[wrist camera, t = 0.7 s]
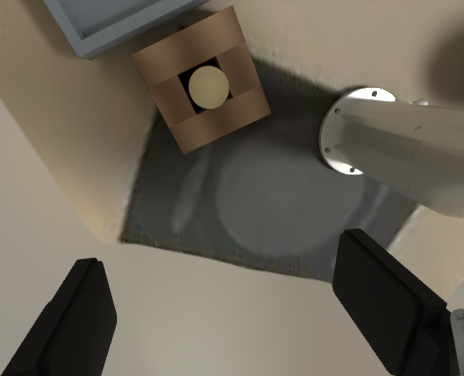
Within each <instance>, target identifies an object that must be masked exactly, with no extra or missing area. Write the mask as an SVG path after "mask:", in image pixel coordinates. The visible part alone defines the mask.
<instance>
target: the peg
mask: <svg viewBox="0 0 464 376" xmlns="http://www.w3.org/2000/svg"><path fill="white" fill-rule="evenodd" d="M189 92H190V95H191V97H192V99H193V101H194V102H195V103H196V104H197V105H199V106H200V107H202V108H206V109H213V108H217V107H219V106H220V105H222V104H223V103H224V101H225V100H226V98H227V96H228V93H229V83H228V80H227V78H226V76H225V74H224V73H223V72H222V71H221V70H219V69H218V68H216V67H213V66H204V67H201V68H199V69H197V70H196V71H195V72H194V73H193V75H192V76H191V78H190V82H189Z"/></svg>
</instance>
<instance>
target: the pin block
mask: <svg viewBox="0 0 464 376" xmlns="http://www.w3.org/2000/svg"><path fill="white" fill-rule="evenodd" d="M130 57H131V58H132V60H133V62H134V64H135V66H136V68H137V70H138V71H139V73H140V75H141V77H142V79H143V81H144V82H145V84H146V86H147V88H148V90H149V92H150V94H151V95H152V97H153V99H154V101H155V103H156V105H157V107H158V108H159V110H160V112H161V114H162V116H163V118H164V120H165V121H166V123H167V125H168V127H169V129H170V131H171V133H172V134H173V136H174V138H175V140H176V142H177V144H178V146H179V147H180V149H181V151H182V153H183V155H184V154H186V153H188V152H190V151H193V150H195V149H197V148H199V147H201V146H203V145H205V144H207V143H209V142H212V141H214V140H216V139H218V138H220V137H222V136H224V135H226V134H229V133H231V132H233V131H235V130H237V129H239V128H241V127H243V126H246V125H248V124H250V123H252V122H254V121H256V120H258V119H260V118H263V117H265V116H267V115H269V114H271V111H270V108H269V105H268V102H267V100H266V97H265V94H264V91H263V89H262V86H261V83H260V80H259V77H258V75H257V72H256V69H255V66H254V64H253V61H252V58H251V55H250V52H249V50H248V47H247V44H246V41H245V38H244V36H243V33H242V30H241V27H240V25H239V22H238V19H237V16H236V13H235V11H234V8H233V5H232V6H230V7H228V8H226V9H224V10H222V11H220V12H218V13H216V14H214V15H212V16H210V17H208V18H206V19H203V20H201V21H199V22H197V23H195V24H193V25H191V26H189V27H187V28H185V29H183V30H181V31H179V32H177V33H175V34H173V35H171V36H169V37H167V38H165V39H163V40H161V41H159V42H157V43H155V44H153V45H151V46H149V47H147V48H145V49H143V50H141V51H138V52H136V53H134V54H132V55H130ZM212 59H214V61H215V64H216V66H217V68H218V69H219V70H221V71H222V72H223V73H224V74H225V76H226V78H227V80H228V83H229V93H228V95H229V96H228V97H227V98H226V100H225V101H224V103H223V104H222V105H220V106H219V107H217V108H213V109H206V108H203V109H201V110H199V111H196V110H195V108H194V106H193V104H192V102H191V100H190V98H189V96H188V94H187V92H186V89H185V87H184V85H183V83H182V81H181V79H180V77H179V75H181V74H183V73H185V72H187V71H189V70H191V69H193V68H195V67H197V66H199V65H201V64H204V63H206V62H208V61H210V60H212Z"/></svg>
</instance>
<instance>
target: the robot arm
mask: <svg viewBox="0 0 464 376" xmlns="http://www.w3.org/2000/svg"><path fill="white" fill-rule="evenodd" d="M427 104H428V102H427V100H426V99H425V98H420V99H418V100H416V101H414V102H412V103H406V102H398V101H397V99H396V98H395V97H394V96H393V95H392V94H391V93H389V92H387V91H386V90H383V89H380V88H374V87H363V88H358V89H355V90H352V91H350V92H348V93H346V94H344V95H343V96H342V97H340V98H339V99H338V100H337V101H336V102H335V103H334V104H333V105H332V106H331V107H330V108H329V110H328V111H327V113H326V114H325V116H324V118H323V120H322V123H321V126H320V130H319V137H318V138H319V148H320V152H321V155H322V157H323V159H324V160H325V161H326V163H327V164H328V165H329V166H331V167H332V168H333V169H335V170H337V171H338V172H341V173H344V174H348V175H357V174H362V173H364V174H366V175H368V176H370V177H371V178H373V179H375V180H377V181H379V182H381V183H382V184H384V185H386V186H388V187H390V188H392V189H393V190H395V191H397V192H399V193H401V194H403V195H405V196H406V197H408V198H410V199H412V200H414V201H416V202H417V203H419V204H421V205H423V206H425V207H427V208H429V209H431V210H433V211H435V212H437V213H440V214H443V215H446V216H450V217H457V218H464V109H459V108H450V107H440V106H430V105H427ZM335 109H336V111H335ZM325 149H326V150H325ZM332 287H333V291H334V293H335V295H336V296H337V298H338V299H339V301H340V302H341V304H342V305H343V306H344V308H345V309H346V311H347V312H348V314H349V315H350V317H351V318H352V320H353V321H354V323H355V324H356V326H357V327H358V328H359V330H360V331H361V333H362V334H363V336H364V337H365V339H366V340H367V342H368V343H369V344H370V346H371V348H372V349H373V351H374V352H375V353H376V355H377V356H378V358H379V359H380V361H381V362H382V364H383V365H384V367H385V368H386V370H387V371H388V372H389V373H390V374H391V375H395V376H464V309H456V310H454V311H453V312H452V313H451V312H450V311H448V310H447V309H446V306H447V303H446V302H445V301H444V300H443V299H441V298H440V297H439V296H438V295H437V294H436V293H435V292H433V291H432V290H431V289H430V288H429V287H428V286H426V285H425V284H424V283H423V282H422V281H421V280H419V279H418V278H417V277H416V276H415V275H414V274H413V273H411V272H410V271H409V270H408V269H407V268H406V267H404V266H403V265H402V264H401V263H400V262H399V261H397V260H396V259H395V258H394V257H393V256H392V255H391V254H389V253H388V252H387V251H386V250H385V249H384V248H382V247H381V246H380V245H379V244H378V243H377V242H375V241H374V240H373V239H372V238H371V237H370V236H369V235H367V234H366V233H365V232H364V231H363V230H361V229H359V228H358V229H348V230H345V231H344V232H343V234H341V235H340V238H339V245H338V251H337V258H336V264H335V271H334V277H333V284H332ZM116 324H117V314H116V310H115V306H114V303H113V299H112V295H111V292H110V288H109V284H108V280H107V277H106V273H105V269H104V266H103V263H102V261H98V260H97V259H96V258H87V259H79V260H77V261H76V262H75V264H74V266H73V267H72V269H71V270H70V272H69V273H68V275H67V277H66V278H65V280H64V281H63V283H62V285H61V286H60V288H59V289H58V291H57V292H56V294H55V296H54V297H53V299H52V301H50V302H49V303H48V304H47V305H46V306H45V308H44V309H43V311H42V312H41V314H40V315H39V317H38V318H37V320H36V322H35V323H34V325H33V326H32V328H31V329H30V331H29V333H28V334H27V336H26V337H25V339H24V340H23V342H22V343H21V345H20V346H19V348H18V350H17V351H16V353H15V354H14V356H13V357H12V359H11V361H10V362H9V364H8V365H7V367H6V368H5V370H4V371H3V373H2V375H1V376H101V374H102V371H103V367H104V364H105V361H106V357H107V354H108V351H109V347H110V344H111V341H112V337H113V334H114V331H115V327H116Z"/></svg>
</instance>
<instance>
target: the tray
mask: <svg viewBox="0 0 464 376" xmlns="http://www.w3.org/2000/svg"><path fill="white" fill-rule="evenodd" d="M43 1H44V3H45V4H46V6H47V7H48V9H49V11H50V12H51V14H52V16H53V17H54V19H55V20H56V22H57V24H58V25H59V27H60V28H61V30H62V32H63V33H64V35H65V37H66V38H67V40H68V41H69V43H70V45H71V46H72V48H73V50H74V51H75V53H76V54H77V56H78V57H79V58H84V59H89V60H91V59H93V58H95V57H97V56H99V55H101V54H103V53H105V52H107V51H109V50H111V49H113V48H115V47H117V46H119V45H122V44H124V43H126V42H128V41H130V40H132V39H134V38H136V37H138V36H140V35H142V34H144V33H146V32H148V31H150V30H152V29H154V28H156V27H158V26H160V25H162V24H164V23H166V22H168V21H170V20H172V19H174V18H176V17H178V16H180V15H182V14H184V13H186V12H188V11H190V10H192V9H194V8H196V7H198V6H200V5H202V4H204V3H206V2H208V1H210V0H43Z"/></svg>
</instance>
